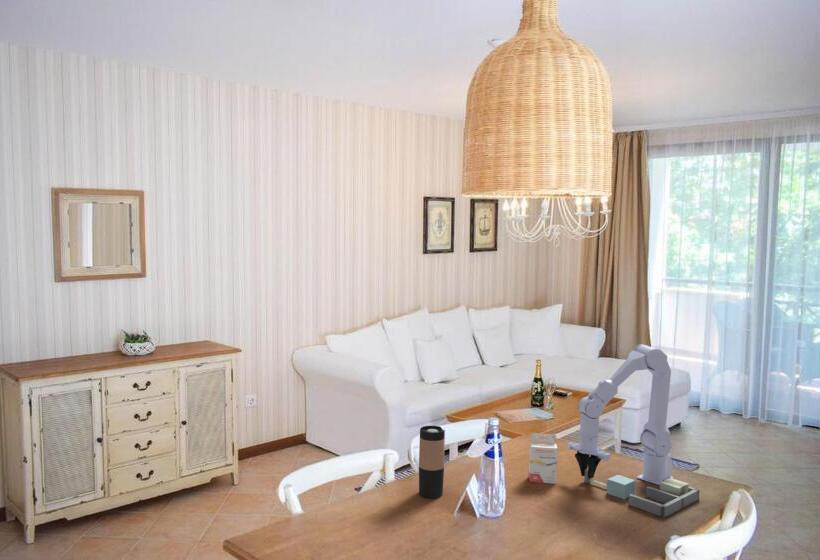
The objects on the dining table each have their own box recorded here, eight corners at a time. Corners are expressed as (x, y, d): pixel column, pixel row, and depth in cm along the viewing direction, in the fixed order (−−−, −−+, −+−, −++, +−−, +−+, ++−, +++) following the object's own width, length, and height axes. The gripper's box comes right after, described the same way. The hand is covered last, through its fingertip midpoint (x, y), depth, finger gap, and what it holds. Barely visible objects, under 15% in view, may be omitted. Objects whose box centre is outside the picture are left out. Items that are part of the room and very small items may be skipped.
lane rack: (664, 488, 210) (664, 478, 209) (698, 499, 201) (699, 489, 201) (628, 504, 196) (628, 494, 196) (664, 517, 188) (664, 507, 187)
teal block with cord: (590, 479, 216) (590, 465, 215) (634, 494, 204) (635, 480, 203) (579, 483, 212) (579, 469, 212) (624, 499, 200) (624, 484, 200)
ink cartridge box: (529, 482, 212) (531, 437, 211) (528, 476, 217) (529, 432, 216) (556, 484, 211) (558, 438, 210) (554, 478, 216) (556, 434, 215)
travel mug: (414, 496, 199) (415, 430, 197) (423, 487, 206) (425, 424, 205) (438, 500, 196) (440, 434, 195) (446, 491, 203) (448, 427, 202)
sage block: (669, 493, 206) (669, 477, 205) (687, 499, 201) (688, 483, 201) (659, 498, 202) (660, 482, 201) (678, 504, 197) (679, 488, 197)
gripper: (562, 431, 215) (561, 472, 216) (601, 443, 204) (600, 486, 205) (575, 427, 219) (574, 468, 220) (614, 438, 209) (612, 481, 209)
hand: (587, 476), depth 213 cm, fingers closed on teal block with cord, 2 cm apart
